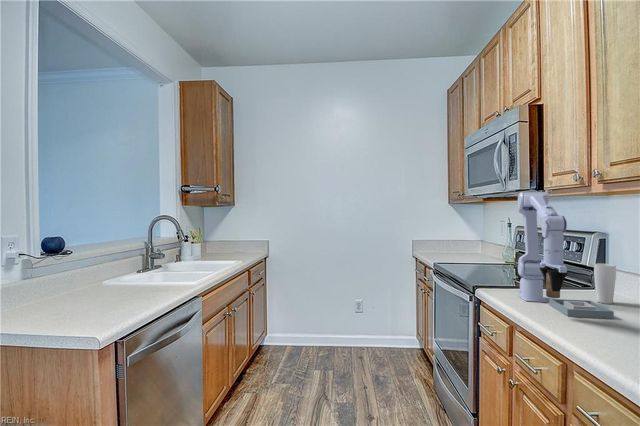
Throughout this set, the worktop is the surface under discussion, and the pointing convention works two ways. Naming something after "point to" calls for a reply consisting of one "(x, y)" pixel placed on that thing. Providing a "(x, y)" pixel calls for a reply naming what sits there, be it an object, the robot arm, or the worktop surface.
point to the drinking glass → (604, 282)
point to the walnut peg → (550, 289)
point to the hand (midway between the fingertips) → (553, 289)
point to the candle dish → (581, 308)
